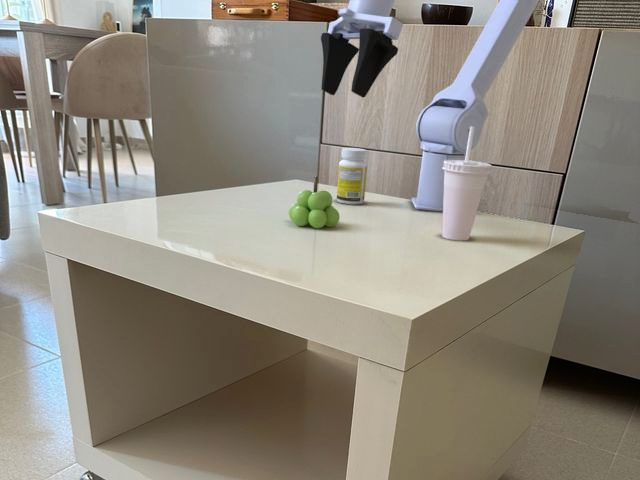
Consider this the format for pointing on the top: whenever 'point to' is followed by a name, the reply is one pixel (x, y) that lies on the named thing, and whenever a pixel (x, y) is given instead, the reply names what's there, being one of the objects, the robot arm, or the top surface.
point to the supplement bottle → (352, 176)
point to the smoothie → (462, 193)
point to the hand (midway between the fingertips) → (342, 93)
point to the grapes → (314, 208)
